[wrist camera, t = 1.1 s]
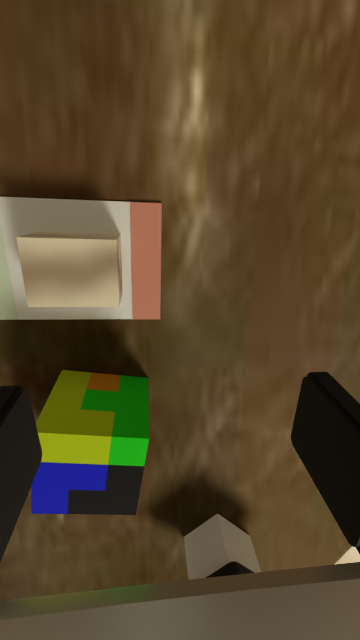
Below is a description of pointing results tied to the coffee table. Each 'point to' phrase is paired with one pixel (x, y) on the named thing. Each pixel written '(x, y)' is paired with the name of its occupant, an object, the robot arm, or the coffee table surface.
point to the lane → (60, 217)
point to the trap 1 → (146, 259)
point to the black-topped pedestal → (219, 550)
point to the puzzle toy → (92, 445)
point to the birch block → (71, 269)
